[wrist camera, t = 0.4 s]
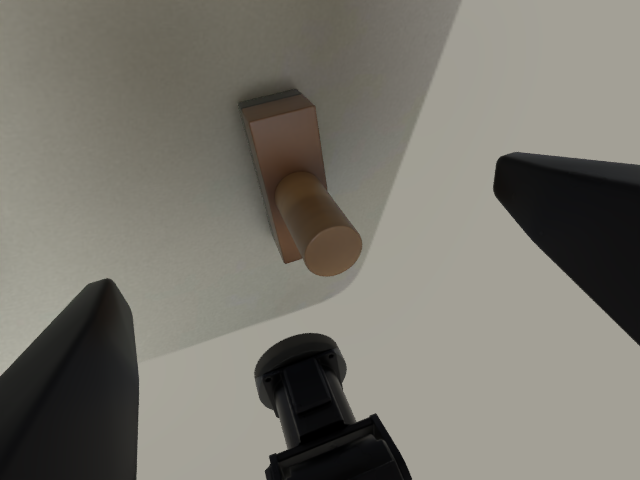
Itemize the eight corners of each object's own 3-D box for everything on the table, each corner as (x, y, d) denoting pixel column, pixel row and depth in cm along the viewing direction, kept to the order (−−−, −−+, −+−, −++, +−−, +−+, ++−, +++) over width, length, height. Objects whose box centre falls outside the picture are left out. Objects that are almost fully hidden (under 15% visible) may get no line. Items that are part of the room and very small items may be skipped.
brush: (319, 220, 24) (374, 309, 18) (272, 235, 24) (312, 332, 17) (296, 88, 19) (362, 146, 13) (237, 102, 19) (276, 171, 13)
